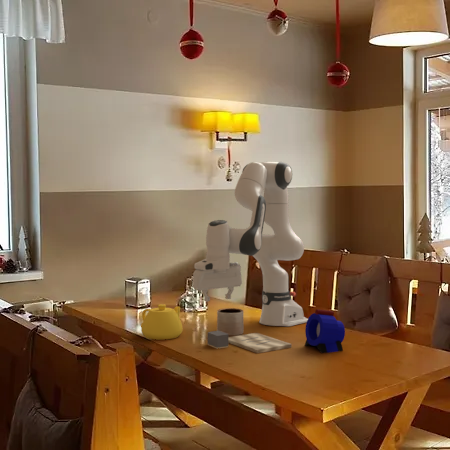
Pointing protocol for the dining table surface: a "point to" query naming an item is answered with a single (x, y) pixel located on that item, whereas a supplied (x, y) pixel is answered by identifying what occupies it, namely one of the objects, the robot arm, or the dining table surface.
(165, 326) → the teapot
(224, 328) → the planter
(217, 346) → the block
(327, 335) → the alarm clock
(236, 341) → the board
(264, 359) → the dining table surface
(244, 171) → the robot arm
